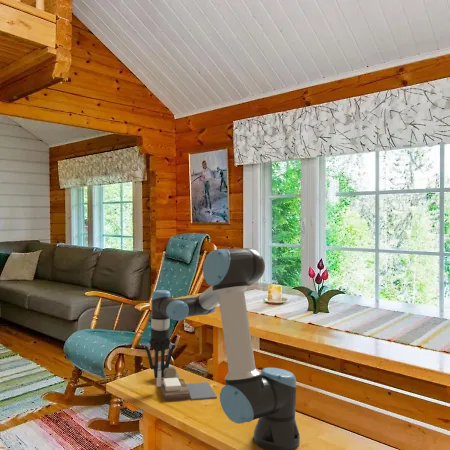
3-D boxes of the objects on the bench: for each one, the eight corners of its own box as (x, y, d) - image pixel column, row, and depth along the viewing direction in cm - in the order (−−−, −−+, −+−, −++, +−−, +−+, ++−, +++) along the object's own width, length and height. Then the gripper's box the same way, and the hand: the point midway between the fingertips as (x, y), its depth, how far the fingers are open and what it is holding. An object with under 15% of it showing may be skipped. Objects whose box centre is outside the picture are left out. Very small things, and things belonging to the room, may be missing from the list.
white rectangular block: (181, 390, 181) (181, 385, 181) (166, 391, 179) (166, 386, 179) (177, 382, 189) (177, 377, 189) (163, 383, 188) (163, 378, 188)
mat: (216, 398, 180) (216, 396, 180) (191, 400, 177) (191, 398, 177) (207, 383, 196) (207, 382, 196) (184, 385, 193) (184, 383, 193)
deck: (189, 399, 178) (189, 393, 178) (164, 401, 176) (165, 395, 176) (182, 384, 194) (182, 378, 194) (159, 386, 191) (159, 380, 191)
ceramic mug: (164, 384, 193) (164, 367, 193) (152, 379, 199) (153, 362, 199) (183, 379, 200) (183, 362, 200) (171, 374, 206) (172, 357, 206)
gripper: (174, 325, 188) (173, 380, 188) (143, 326, 184) (141, 383, 184) (177, 329, 180) (175, 387, 181) (145, 331, 177) (143, 389, 177)
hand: (158, 385), depth 183 cm, fingers closed
